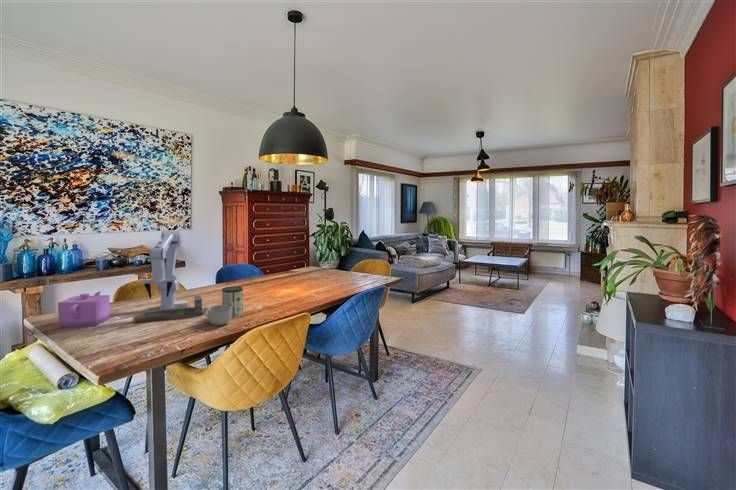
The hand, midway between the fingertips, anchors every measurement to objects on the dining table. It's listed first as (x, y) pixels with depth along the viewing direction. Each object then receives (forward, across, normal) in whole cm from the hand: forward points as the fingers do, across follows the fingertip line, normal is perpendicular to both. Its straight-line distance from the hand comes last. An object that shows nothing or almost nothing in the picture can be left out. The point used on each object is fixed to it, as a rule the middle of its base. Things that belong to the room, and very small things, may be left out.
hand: (159, 297), depth 186 cm
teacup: (+10, +25, -27) cm, 38 cm away
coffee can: (+10, +34, -14) cm, 38 cm away
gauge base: (+9, +5, -4) cm, 11 cm away
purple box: (+10, -30, +2) cm, 32 cm away
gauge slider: (+8, +10, -5) cm, 13 cm away
